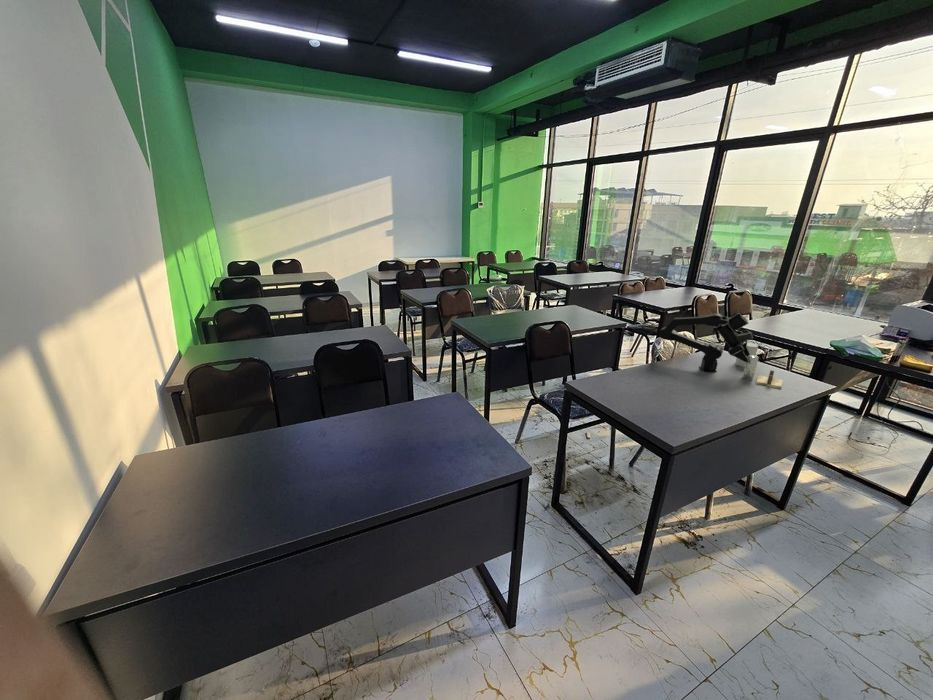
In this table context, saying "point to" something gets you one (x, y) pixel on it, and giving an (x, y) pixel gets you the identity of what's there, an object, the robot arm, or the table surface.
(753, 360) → the silver metal cylinder
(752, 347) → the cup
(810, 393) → the table surface
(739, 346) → the robot arm
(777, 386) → the peg rack
